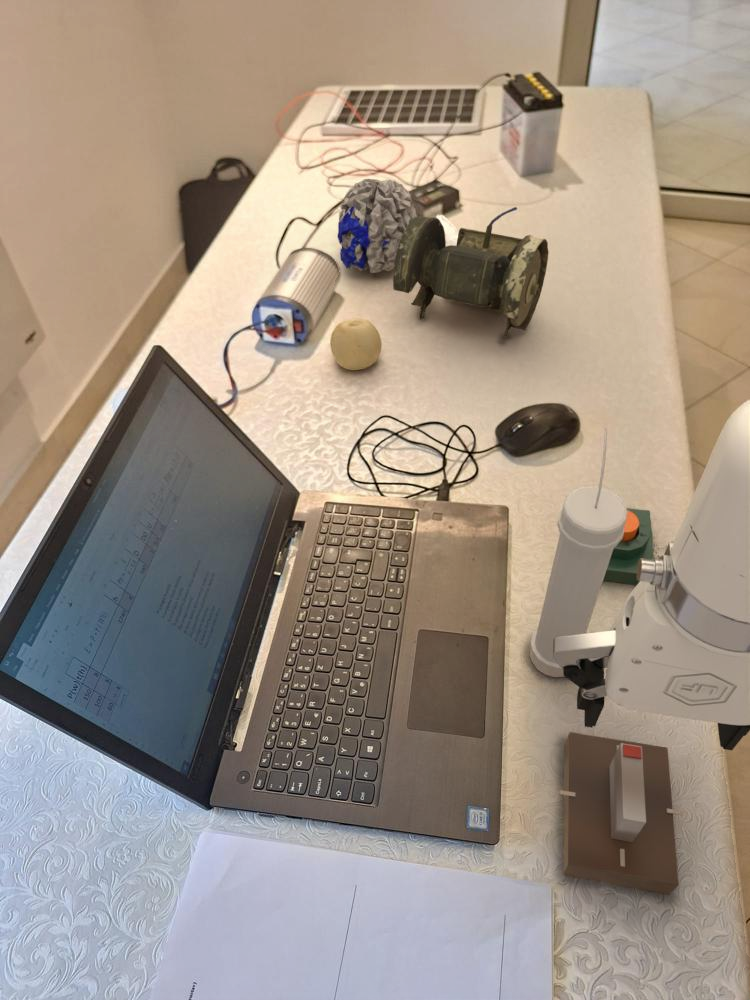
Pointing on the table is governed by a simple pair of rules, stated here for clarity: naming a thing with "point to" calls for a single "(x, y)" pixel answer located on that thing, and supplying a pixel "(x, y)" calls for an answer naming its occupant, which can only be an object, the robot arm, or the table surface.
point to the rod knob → (627, 793)
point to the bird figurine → (449, 231)
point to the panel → (590, 818)
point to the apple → (355, 344)
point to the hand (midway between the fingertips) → (655, 719)
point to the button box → (631, 552)
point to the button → (630, 527)
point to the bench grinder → (472, 269)
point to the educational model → (373, 224)
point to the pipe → (577, 567)
